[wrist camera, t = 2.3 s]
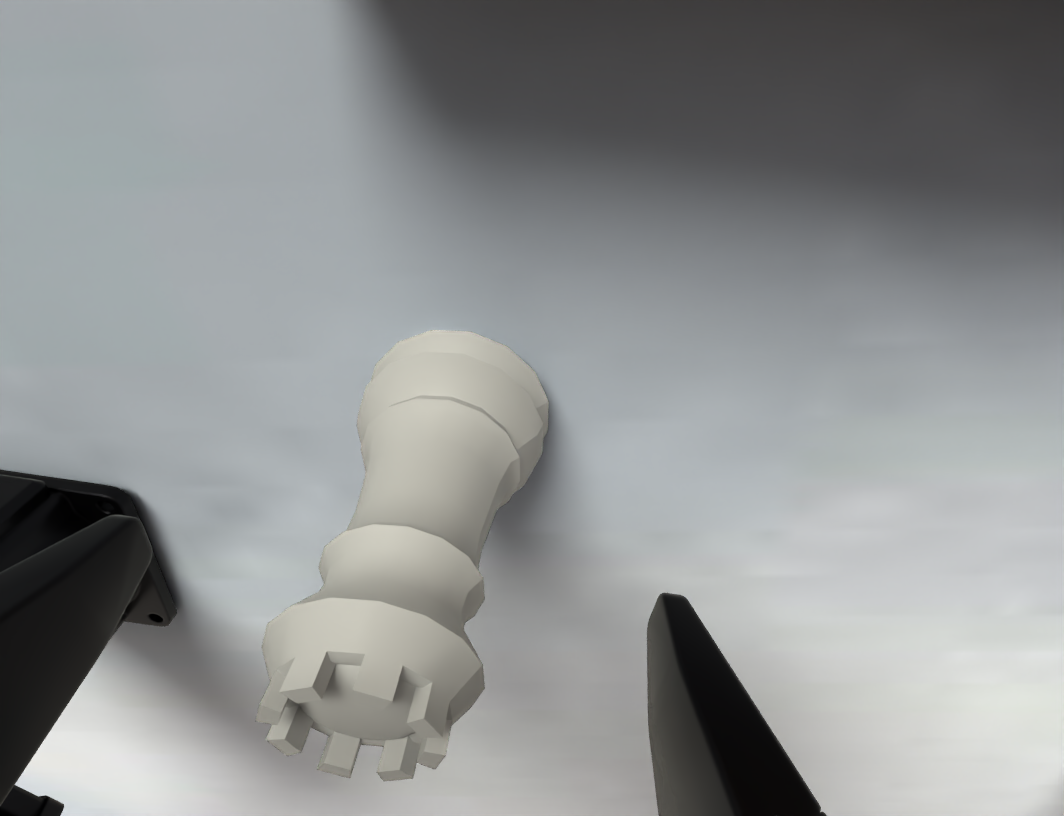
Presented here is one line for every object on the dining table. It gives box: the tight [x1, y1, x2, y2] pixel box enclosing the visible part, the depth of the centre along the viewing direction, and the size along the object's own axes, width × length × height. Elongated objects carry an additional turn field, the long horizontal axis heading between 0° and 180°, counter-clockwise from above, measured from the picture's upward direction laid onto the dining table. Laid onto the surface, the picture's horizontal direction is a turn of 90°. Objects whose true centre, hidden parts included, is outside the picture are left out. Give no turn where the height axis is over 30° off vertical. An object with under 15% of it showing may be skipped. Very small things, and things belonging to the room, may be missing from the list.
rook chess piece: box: [255, 330, 549, 781], centre depth 11 cm, size 4×4×8 cm
